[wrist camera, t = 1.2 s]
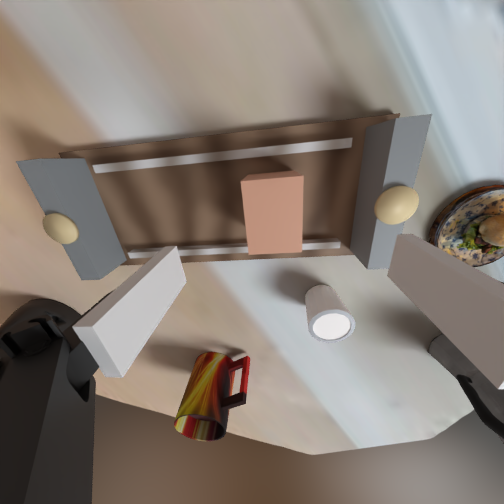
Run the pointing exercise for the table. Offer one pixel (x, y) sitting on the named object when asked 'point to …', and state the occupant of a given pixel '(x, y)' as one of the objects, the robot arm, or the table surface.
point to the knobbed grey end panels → (365, 218)
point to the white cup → (327, 315)
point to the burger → (472, 226)
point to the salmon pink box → (273, 212)
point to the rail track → (228, 188)
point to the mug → (211, 396)
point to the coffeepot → (472, 383)
